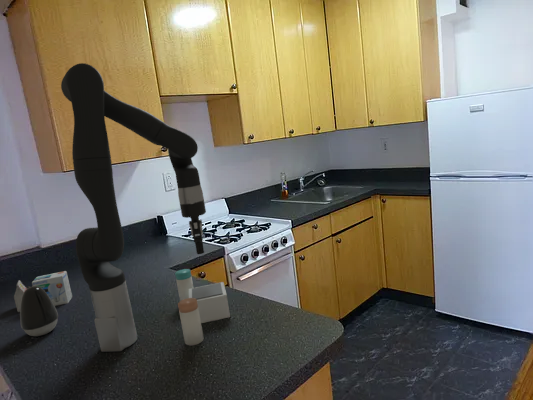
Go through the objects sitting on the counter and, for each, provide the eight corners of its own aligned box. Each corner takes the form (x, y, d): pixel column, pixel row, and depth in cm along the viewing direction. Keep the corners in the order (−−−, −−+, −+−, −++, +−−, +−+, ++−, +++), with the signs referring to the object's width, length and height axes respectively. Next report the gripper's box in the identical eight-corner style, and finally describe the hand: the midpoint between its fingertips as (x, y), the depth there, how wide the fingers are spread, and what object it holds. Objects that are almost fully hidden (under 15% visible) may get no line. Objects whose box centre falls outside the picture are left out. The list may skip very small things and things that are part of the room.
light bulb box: (37, 310, 142) (30, 282, 140) (42, 303, 149) (36, 276, 147) (69, 303, 145) (62, 275, 143) (72, 296, 151) (66, 270, 149)
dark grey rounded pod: (55, 321, 130) (44, 278, 127) (65, 329, 123) (54, 283, 120) (20, 334, 123) (8, 289, 121) (29, 344, 116) (16, 296, 113)
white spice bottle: (199, 345, 102) (192, 305, 100) (182, 345, 102) (174, 306, 101) (206, 335, 106) (199, 297, 104) (189, 335, 107) (182, 298, 105)
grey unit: (230, 316, 115) (226, 293, 114) (192, 325, 113) (188, 301, 112) (226, 301, 126) (223, 280, 125) (192, 309, 124) (188, 287, 123)
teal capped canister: (192, 306, 126) (187, 274, 125) (178, 306, 127) (172, 275, 126) (198, 299, 131) (192, 268, 129) (184, 300, 132) (178, 269, 130)
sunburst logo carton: (17, 312, 143) (11, 286, 141) (19, 306, 149) (13, 281, 147) (29, 309, 144) (22, 283, 143) (30, 303, 150) (24, 278, 149)
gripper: (180, 199, 128) (188, 246, 130) (179, 205, 114) (188, 258, 117) (202, 195, 129) (210, 242, 132) (204, 201, 115) (213, 253, 118)
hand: (200, 249), depth 124 cm, fingers open, 8 cm apart
